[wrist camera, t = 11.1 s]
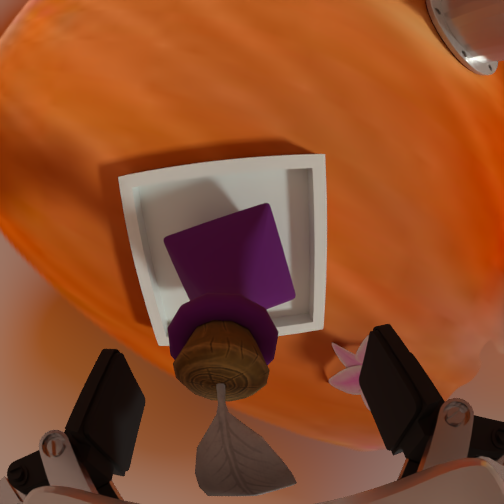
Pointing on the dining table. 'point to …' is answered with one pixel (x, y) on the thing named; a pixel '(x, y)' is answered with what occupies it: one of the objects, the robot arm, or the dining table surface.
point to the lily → (350, 370)
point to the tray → (221, 204)
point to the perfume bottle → (230, 340)
